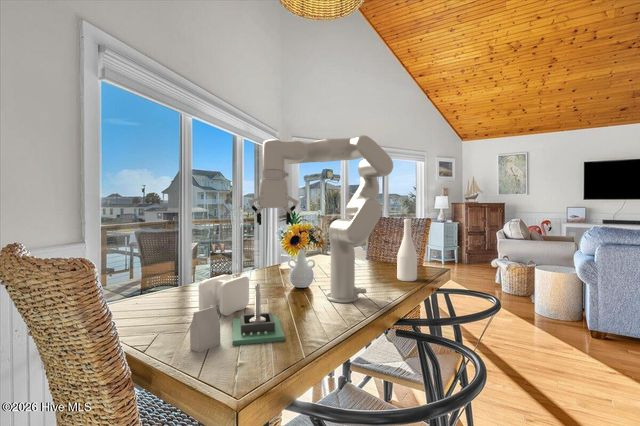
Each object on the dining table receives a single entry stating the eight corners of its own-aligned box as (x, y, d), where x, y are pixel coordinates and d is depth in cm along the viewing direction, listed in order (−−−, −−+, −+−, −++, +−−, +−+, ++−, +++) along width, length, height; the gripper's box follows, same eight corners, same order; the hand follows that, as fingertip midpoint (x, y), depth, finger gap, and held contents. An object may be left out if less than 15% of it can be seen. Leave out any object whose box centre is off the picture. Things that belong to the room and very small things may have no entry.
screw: (246, 327, 104) (258, 322, 108) (256, 331, 101) (269, 326, 105) (245, 283, 104) (258, 280, 107) (256, 286, 101) (269, 283, 104)
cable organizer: (221, 319, 114) (221, 284, 114) (197, 314, 119) (197, 280, 118) (249, 306, 128) (249, 275, 127) (226, 303, 132) (226, 272, 132)
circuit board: (277, 319, 115) (277, 307, 115) (284, 340, 97) (284, 327, 97) (233, 322, 111) (233, 310, 111) (232, 345, 94) (232, 331, 94)
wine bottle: (397, 281, 169) (398, 219, 168) (396, 277, 178) (397, 218, 177) (417, 282, 167) (418, 219, 166) (415, 277, 177) (416, 218, 176)
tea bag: (220, 343, 95) (220, 307, 95) (199, 352, 90) (198, 314, 89) (211, 340, 97) (211, 305, 97) (190, 349, 92) (189, 311, 91)
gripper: (296, 177, 128) (296, 223, 129) (248, 176, 124) (248, 224, 125) (299, 175, 121) (299, 225, 122) (248, 174, 117) (249, 225, 118)
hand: (273, 224), depth 123 cm, fingers open, 9 cm apart
